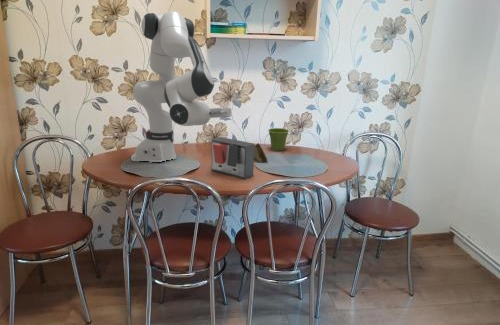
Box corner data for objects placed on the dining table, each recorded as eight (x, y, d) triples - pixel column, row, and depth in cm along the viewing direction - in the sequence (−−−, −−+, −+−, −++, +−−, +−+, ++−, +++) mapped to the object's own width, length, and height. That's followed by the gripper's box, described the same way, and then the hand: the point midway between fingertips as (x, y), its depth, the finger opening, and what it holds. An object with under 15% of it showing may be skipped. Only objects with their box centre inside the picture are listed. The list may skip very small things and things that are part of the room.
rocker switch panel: (220, 167, 171) (220, 136, 167) (253, 175, 161) (254, 143, 157) (210, 171, 166) (210, 139, 161) (244, 179, 156) (245, 147, 151)
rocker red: (217, 160, 163) (215, 142, 159) (224, 162, 161) (222, 144, 157) (215, 162, 161) (212, 144, 157) (222, 164, 159) (219, 145, 155)
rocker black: (229, 164, 157) (232, 144, 156) (237, 166, 155) (239, 146, 154) (227, 165, 156) (229, 144, 154) (234, 167, 154) (236, 146, 152)
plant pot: (267, 146, 211) (268, 127, 208) (287, 147, 210) (289, 128, 207) (266, 151, 200) (267, 132, 196) (287, 152, 199) (289, 133, 195)
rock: (246, 152, 188) (246, 155, 179) (256, 140, 187) (257, 142, 178) (262, 165, 190) (263, 168, 180) (272, 152, 189) (274, 155, 179)
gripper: (223, 103, 133) (236, 104, 146) (175, 106, 139) (191, 107, 152) (224, 120, 133) (237, 119, 146) (176, 123, 140) (192, 122, 153)
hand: (213, 113), depth 149 cm, fingers open, 8 cm apart
